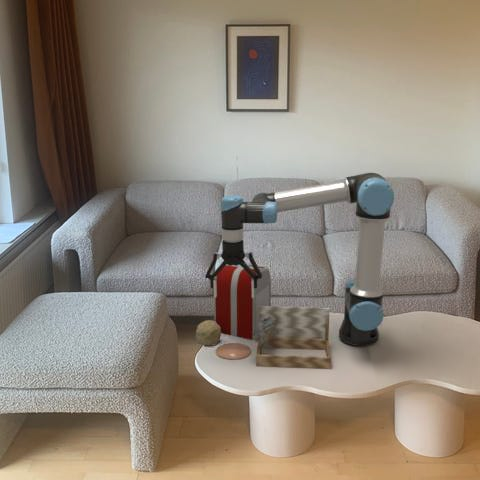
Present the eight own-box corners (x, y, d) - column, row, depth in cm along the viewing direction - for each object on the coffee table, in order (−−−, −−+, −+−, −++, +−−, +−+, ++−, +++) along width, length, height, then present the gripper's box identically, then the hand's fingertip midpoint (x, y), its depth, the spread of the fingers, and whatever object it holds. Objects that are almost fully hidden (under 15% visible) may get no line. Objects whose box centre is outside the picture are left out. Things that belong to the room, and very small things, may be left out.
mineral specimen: (279, 329, 245) (270, 326, 247) (278, 312, 240) (268, 309, 242) (258, 354, 235) (248, 350, 237) (256, 337, 231) (246, 333, 233)
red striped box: (254, 342, 252) (254, 275, 245) (213, 334, 259) (212, 269, 252) (271, 327, 266) (272, 263, 259) (231, 319, 273) (231, 257, 266)
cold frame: (328, 348, 247) (329, 308, 242) (330, 368, 230) (332, 326, 226) (258, 345, 249) (258, 306, 244) (256, 366, 232) (256, 323, 228)
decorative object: (208, 355, 248) (224, 336, 245) (187, 339, 248) (202, 319, 245) (213, 347, 257) (228, 328, 254) (193, 330, 257) (208, 312, 254)
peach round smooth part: (252, 345, 249) (252, 343, 249) (249, 360, 237) (249, 358, 237) (217, 344, 250) (217, 342, 250) (213, 359, 238) (213, 357, 238)
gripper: (268, 236, 235) (269, 293, 240) (199, 236, 237) (201, 292, 242) (267, 242, 227) (268, 300, 233) (196, 242, 229) (198, 299, 235)
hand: (234, 296), depth 238 cm, fingers open, 13 cm apart
